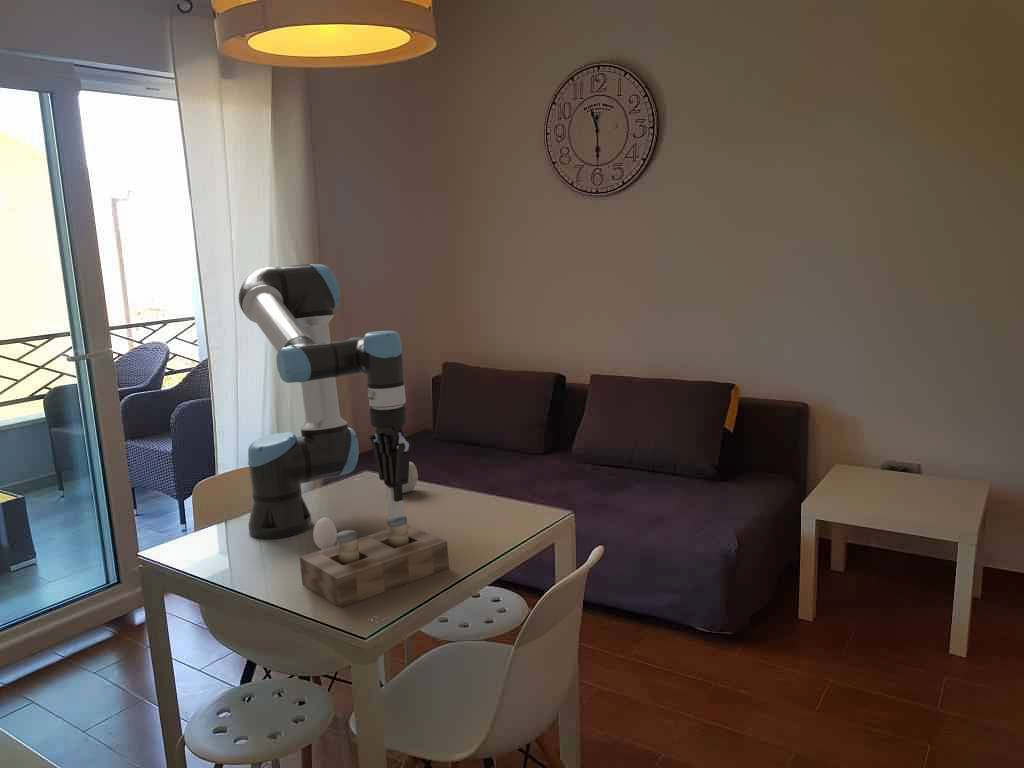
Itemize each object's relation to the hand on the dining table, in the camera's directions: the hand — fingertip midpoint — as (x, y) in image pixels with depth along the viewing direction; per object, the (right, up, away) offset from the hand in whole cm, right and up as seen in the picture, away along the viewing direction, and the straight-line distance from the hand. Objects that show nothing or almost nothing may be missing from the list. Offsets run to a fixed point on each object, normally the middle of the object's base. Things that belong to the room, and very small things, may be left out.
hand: (396, 514), depth 174 cm
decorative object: (-6, -3, +55) cm, 56 cm away
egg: (-18, -11, +15) cm, 26 cm away
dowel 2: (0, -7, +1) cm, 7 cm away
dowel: (-9, -9, -6) cm, 14 cm away
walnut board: (-4, -13, -2) cm, 13 cm away
